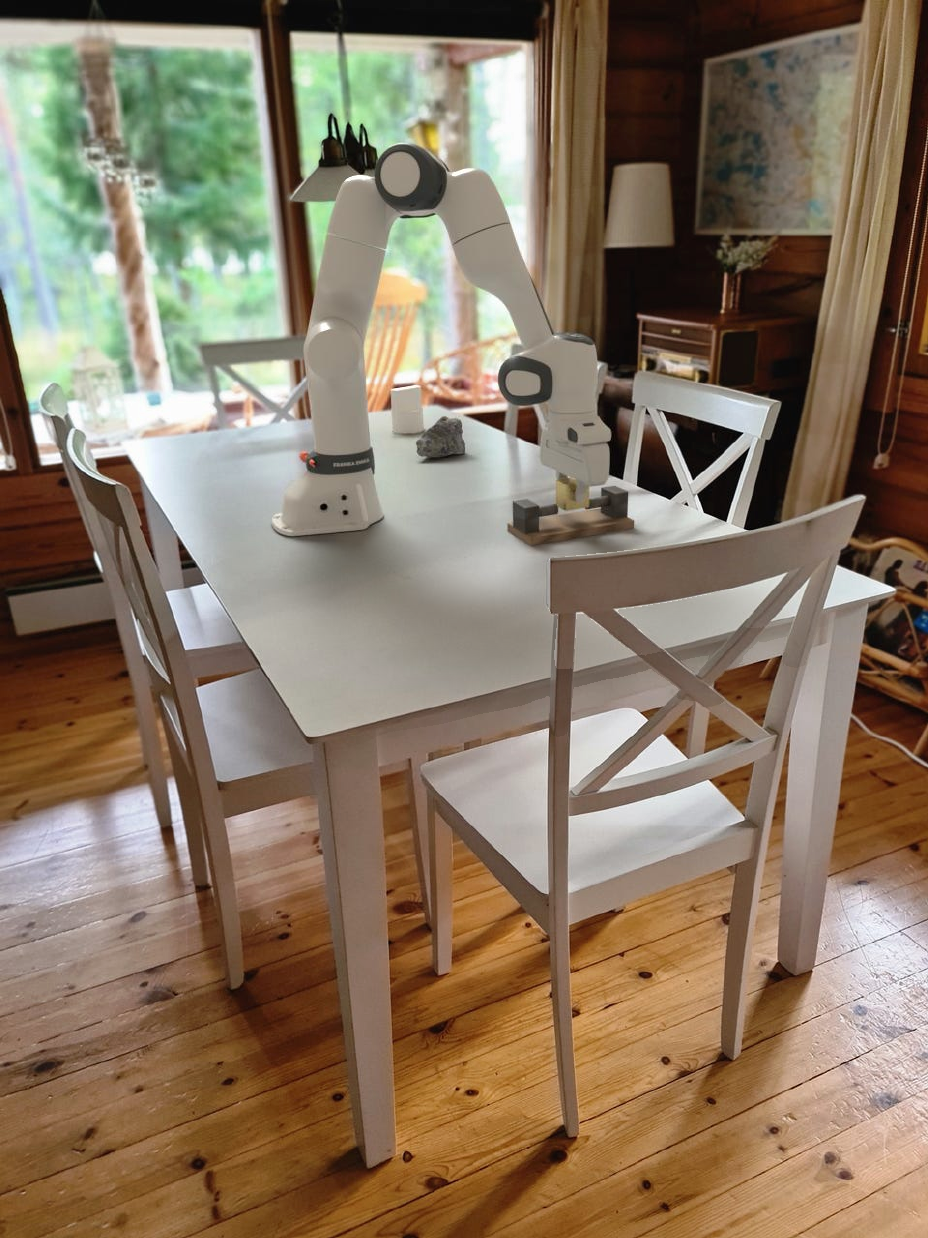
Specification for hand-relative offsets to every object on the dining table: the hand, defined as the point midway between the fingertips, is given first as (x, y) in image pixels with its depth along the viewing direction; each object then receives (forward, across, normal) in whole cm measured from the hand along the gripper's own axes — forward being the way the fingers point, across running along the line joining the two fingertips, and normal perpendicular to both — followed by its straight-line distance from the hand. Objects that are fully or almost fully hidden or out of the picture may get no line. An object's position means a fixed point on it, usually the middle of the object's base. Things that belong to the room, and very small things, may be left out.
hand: (572, 498), depth 175 cm
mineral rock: (+6, -68, 0) cm, 69 cm away
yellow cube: (+2, 0, 0) cm, 2 cm away
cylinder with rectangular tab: (+6, -102, +3) cm, 102 cm away
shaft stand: (+6, 0, 0) cm, 6 cm away
